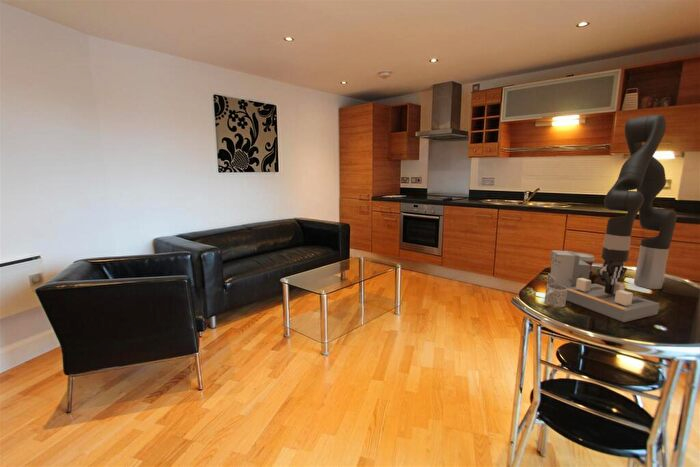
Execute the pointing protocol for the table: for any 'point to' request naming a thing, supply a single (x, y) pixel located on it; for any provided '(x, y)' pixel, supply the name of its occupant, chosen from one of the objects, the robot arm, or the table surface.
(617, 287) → the handle
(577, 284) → the handle
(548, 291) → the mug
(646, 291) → the table surface
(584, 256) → the disposable coffee cup
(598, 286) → the slider control panel
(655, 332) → the table surface
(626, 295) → the handle
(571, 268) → the circuit breaker
